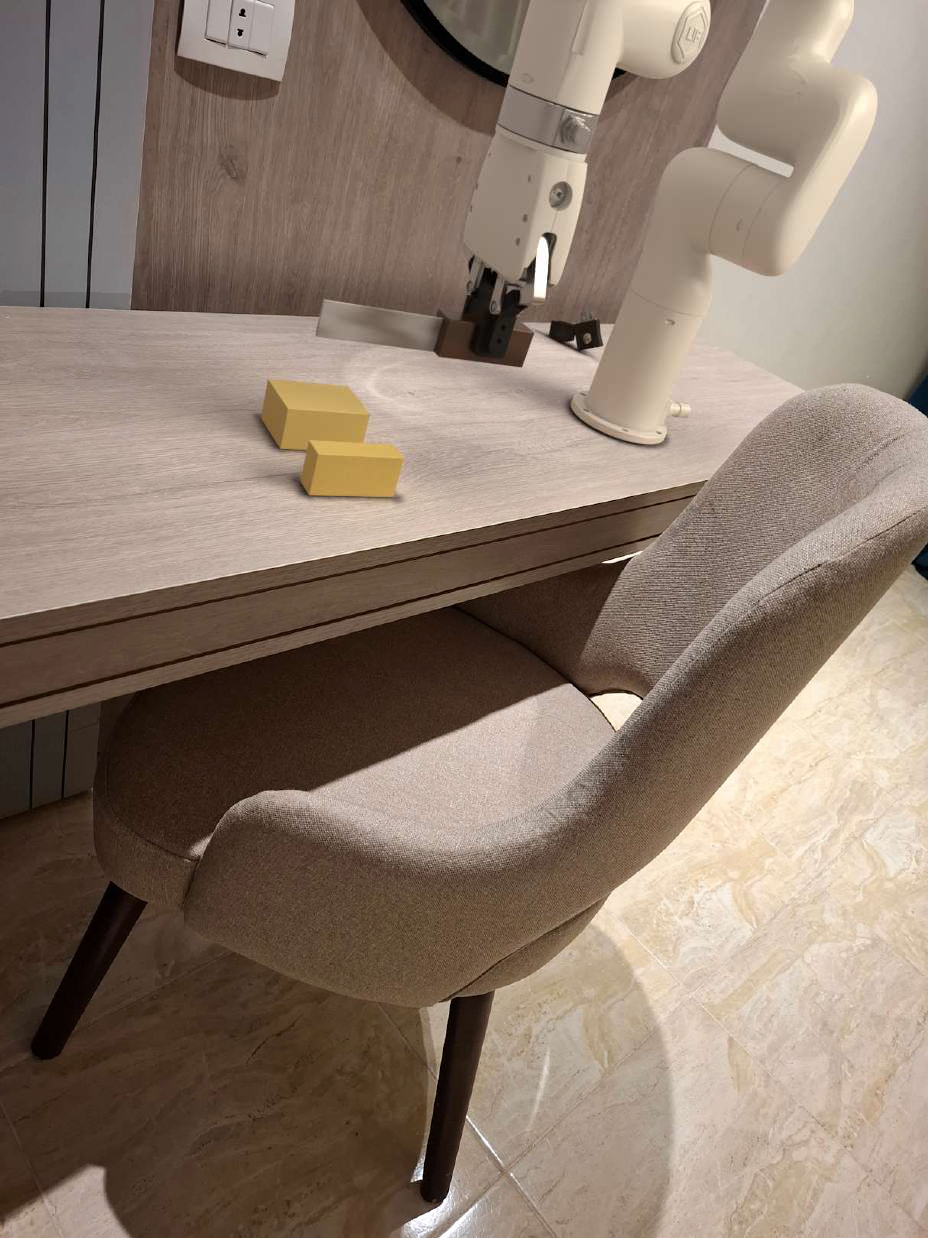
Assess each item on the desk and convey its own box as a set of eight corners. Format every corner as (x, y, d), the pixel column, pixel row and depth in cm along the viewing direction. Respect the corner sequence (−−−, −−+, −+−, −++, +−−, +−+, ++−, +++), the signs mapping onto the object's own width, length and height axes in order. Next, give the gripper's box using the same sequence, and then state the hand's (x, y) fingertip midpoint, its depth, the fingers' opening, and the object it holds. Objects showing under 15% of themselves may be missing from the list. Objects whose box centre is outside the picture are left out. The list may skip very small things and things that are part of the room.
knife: (509, 356, 85) (522, 321, 83) (522, 367, 83) (535, 332, 81) (310, 329, 74) (319, 288, 72) (320, 341, 72) (330, 300, 71)
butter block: (338, 423, 90) (347, 385, 87) (360, 452, 86) (370, 414, 83) (260, 417, 85) (267, 378, 83) (280, 449, 81) (287, 408, 79)
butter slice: (383, 483, 82) (394, 444, 80) (393, 497, 80) (404, 457, 78) (299, 481, 78) (308, 439, 76) (308, 495, 76) (317, 453, 74)
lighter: (550, 356, 136) (544, 320, 135) (556, 354, 138) (550, 319, 136) (598, 347, 132) (592, 310, 130) (603, 345, 133) (598, 309, 132)
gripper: (640, 164, 68) (558, 391, 78) (534, 110, 78) (474, 317, 88) (560, 143, 64) (485, 385, 74) (459, 90, 74) (406, 308, 84)
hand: (479, 346), depth 81 cm, fingers closed on knife, 2 cm apart
